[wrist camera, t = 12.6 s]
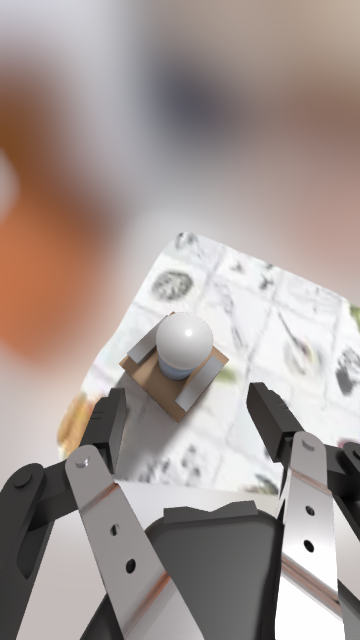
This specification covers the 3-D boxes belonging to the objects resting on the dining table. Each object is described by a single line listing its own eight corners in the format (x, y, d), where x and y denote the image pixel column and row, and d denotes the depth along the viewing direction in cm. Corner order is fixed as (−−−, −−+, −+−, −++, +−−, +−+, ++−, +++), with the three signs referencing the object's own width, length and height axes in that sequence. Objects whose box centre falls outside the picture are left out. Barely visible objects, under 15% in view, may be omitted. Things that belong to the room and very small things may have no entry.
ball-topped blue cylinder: (175, 337, 27) (182, 302, 18) (202, 361, 26) (224, 337, 17) (150, 363, 25) (143, 338, 16) (177, 389, 24) (187, 380, 15)
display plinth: (171, 324, 33) (173, 306, 27) (219, 366, 31) (232, 357, 25) (125, 369, 30) (116, 361, 24) (175, 420, 28) (178, 424, 22)
